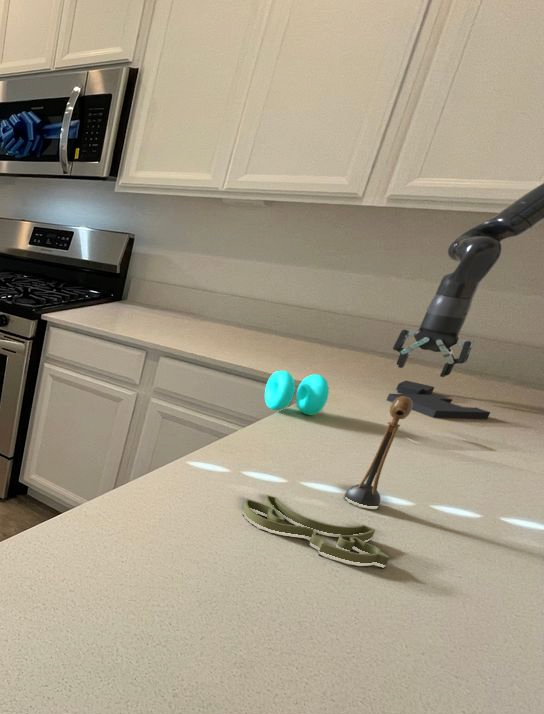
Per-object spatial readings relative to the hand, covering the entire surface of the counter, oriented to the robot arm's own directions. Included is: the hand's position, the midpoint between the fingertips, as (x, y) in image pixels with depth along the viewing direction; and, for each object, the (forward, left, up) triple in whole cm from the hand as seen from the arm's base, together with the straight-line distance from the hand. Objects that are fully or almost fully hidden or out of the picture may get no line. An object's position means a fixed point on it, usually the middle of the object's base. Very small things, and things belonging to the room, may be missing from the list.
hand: (421, 371), depth 159 cm
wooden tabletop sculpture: (+71, +59, -7) cm, 93 cm away
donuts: (+47, +14, -7) cm, 50 cm away
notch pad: (+9, +14, -7) cm, 18 cm away
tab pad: (+1, +1, -7) cm, 7 cm away
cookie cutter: (+89, +69, -7) cm, 113 cm away
